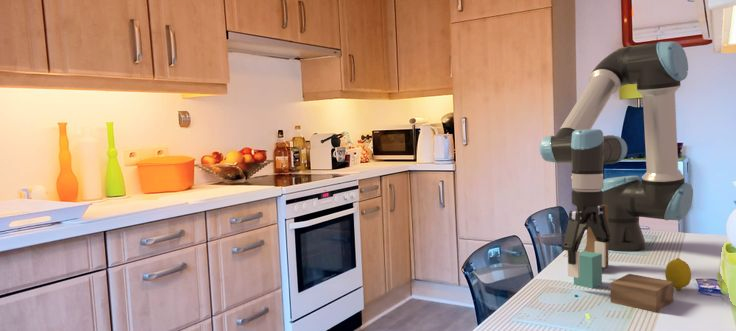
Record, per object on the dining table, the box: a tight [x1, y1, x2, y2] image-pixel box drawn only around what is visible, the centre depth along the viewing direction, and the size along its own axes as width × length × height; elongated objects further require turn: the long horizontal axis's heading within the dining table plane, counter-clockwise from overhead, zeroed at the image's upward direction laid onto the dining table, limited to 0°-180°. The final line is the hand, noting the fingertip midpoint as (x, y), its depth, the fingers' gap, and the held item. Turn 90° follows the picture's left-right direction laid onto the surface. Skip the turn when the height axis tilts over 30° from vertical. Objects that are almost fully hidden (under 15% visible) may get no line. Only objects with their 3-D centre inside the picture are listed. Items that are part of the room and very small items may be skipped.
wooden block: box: [583, 205, 609, 270], centre depth 154 cm, size 9×4×18 cm, turn 131°
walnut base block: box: [610, 273, 674, 314], centre depth 126 cm, size 10×10×5 cm
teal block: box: [573, 250, 603, 289], centre depth 140 cm, size 5×5×8 cm
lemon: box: [664, 257, 692, 291], centre depth 133 cm, size 6×6×8 cm
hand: (587, 271), depth 140 cm, fingers open, 13 cm apart
